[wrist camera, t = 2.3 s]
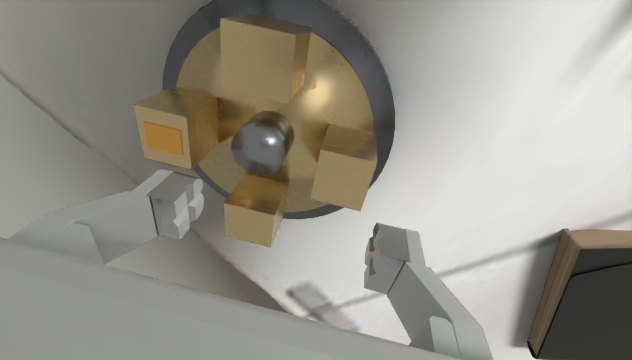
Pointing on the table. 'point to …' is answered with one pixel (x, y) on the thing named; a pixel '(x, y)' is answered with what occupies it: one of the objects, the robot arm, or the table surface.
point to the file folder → (586, 299)
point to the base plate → (304, 9)
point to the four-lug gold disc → (266, 123)
